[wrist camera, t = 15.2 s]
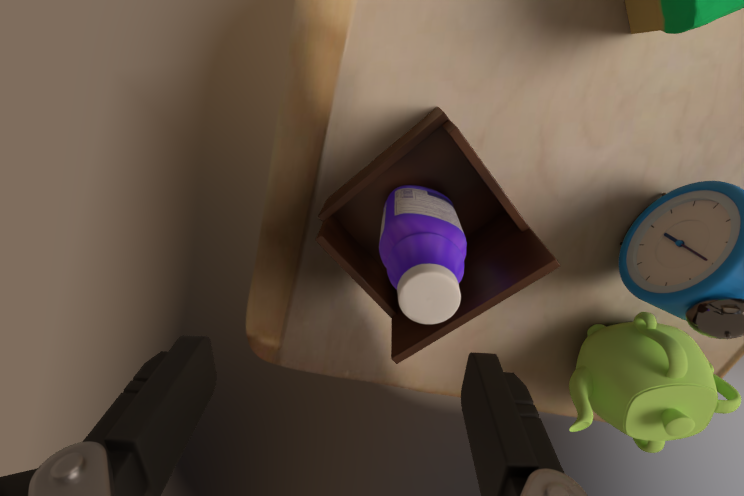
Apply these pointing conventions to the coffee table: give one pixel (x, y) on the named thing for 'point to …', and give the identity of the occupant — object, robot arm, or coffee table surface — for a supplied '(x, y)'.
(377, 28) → the coffee table surface
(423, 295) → the bottle
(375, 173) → the box
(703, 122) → the coffee table surface
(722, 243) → the alarm clock
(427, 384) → the coffee table surface
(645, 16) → the cake
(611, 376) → the teapot
